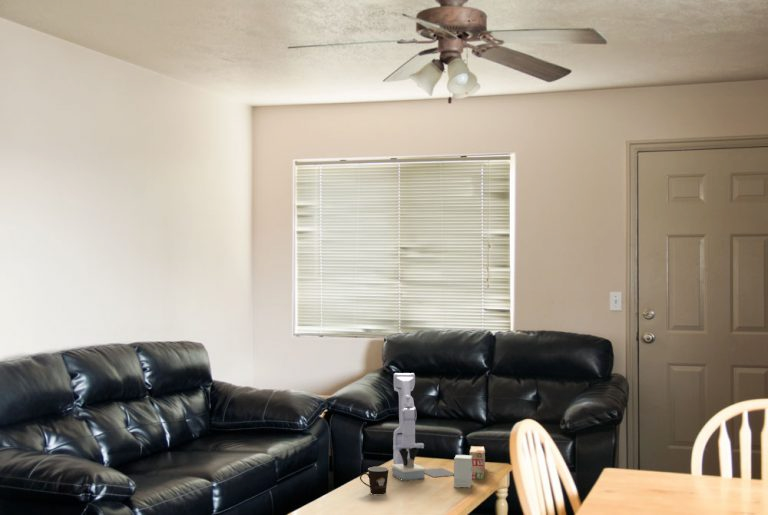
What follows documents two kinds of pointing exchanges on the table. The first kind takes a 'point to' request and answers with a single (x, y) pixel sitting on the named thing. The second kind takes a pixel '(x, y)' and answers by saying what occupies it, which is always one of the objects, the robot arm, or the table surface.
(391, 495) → the table surface
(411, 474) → the box
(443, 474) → the mat
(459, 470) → the supplement box
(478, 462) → the stack of blocks
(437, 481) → the table surface
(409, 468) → the lid
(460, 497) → the table surface
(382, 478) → the coffee mug
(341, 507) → the table surface
